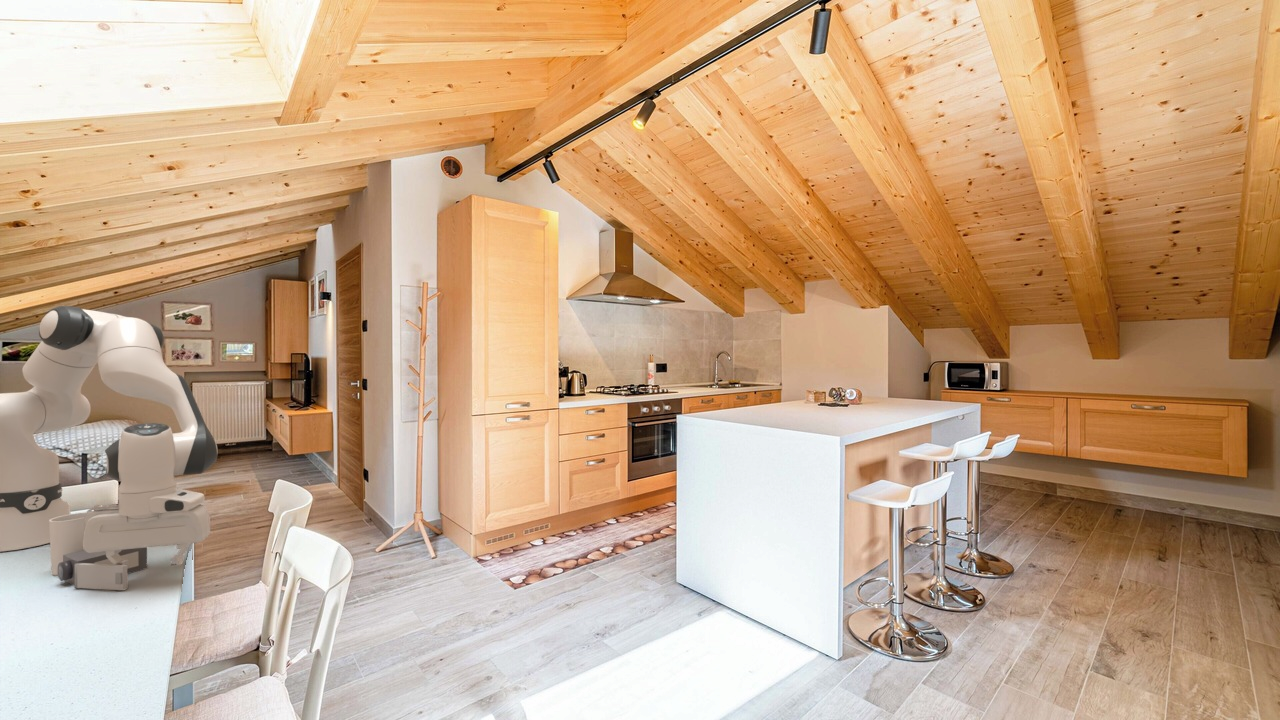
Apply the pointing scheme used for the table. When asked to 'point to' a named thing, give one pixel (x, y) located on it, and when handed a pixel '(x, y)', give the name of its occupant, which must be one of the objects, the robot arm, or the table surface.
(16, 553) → the table surface
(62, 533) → the mug
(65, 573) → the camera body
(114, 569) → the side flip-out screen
